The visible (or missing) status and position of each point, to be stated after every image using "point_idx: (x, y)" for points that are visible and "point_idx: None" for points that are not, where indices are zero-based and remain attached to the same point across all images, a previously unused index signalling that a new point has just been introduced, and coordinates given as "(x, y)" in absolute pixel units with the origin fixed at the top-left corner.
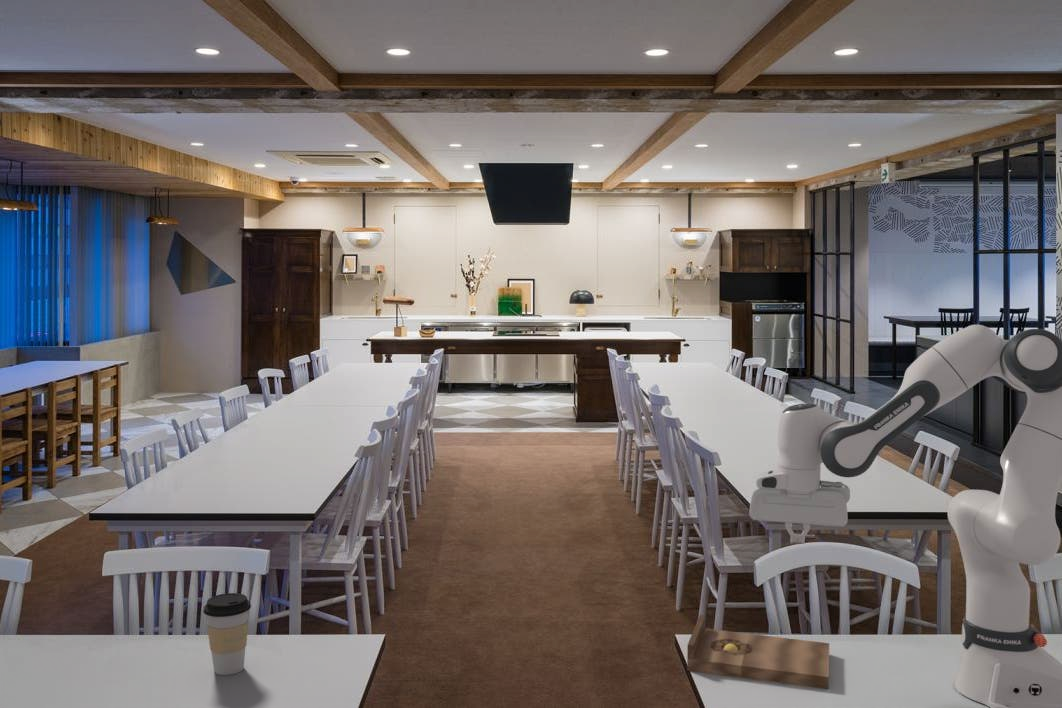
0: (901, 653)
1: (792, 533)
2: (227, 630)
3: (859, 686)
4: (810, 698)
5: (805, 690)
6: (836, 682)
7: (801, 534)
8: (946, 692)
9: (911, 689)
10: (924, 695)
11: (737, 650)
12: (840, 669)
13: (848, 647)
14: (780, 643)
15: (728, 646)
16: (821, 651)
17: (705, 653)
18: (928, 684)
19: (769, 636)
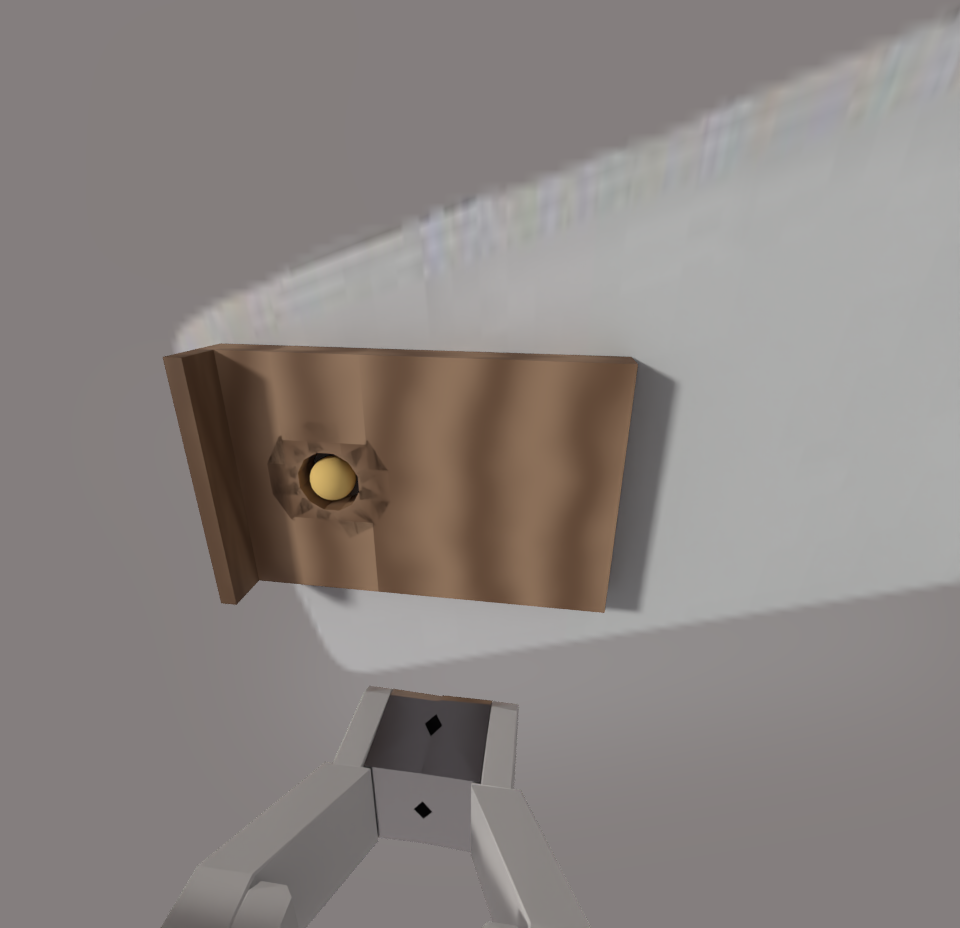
0: (924, 261)
1: (357, 862)
2: None
3: (687, 560)
4: (553, 639)
5: None
6: (627, 549)
7: (470, 800)
8: (944, 547)
9: (838, 549)
10: (863, 576)
11: (349, 488)
12: (652, 465)
13: (715, 263)
14: (467, 413)
15: (320, 494)
16: (601, 445)
17: (275, 539)
18: (910, 507)
19: (427, 360)
